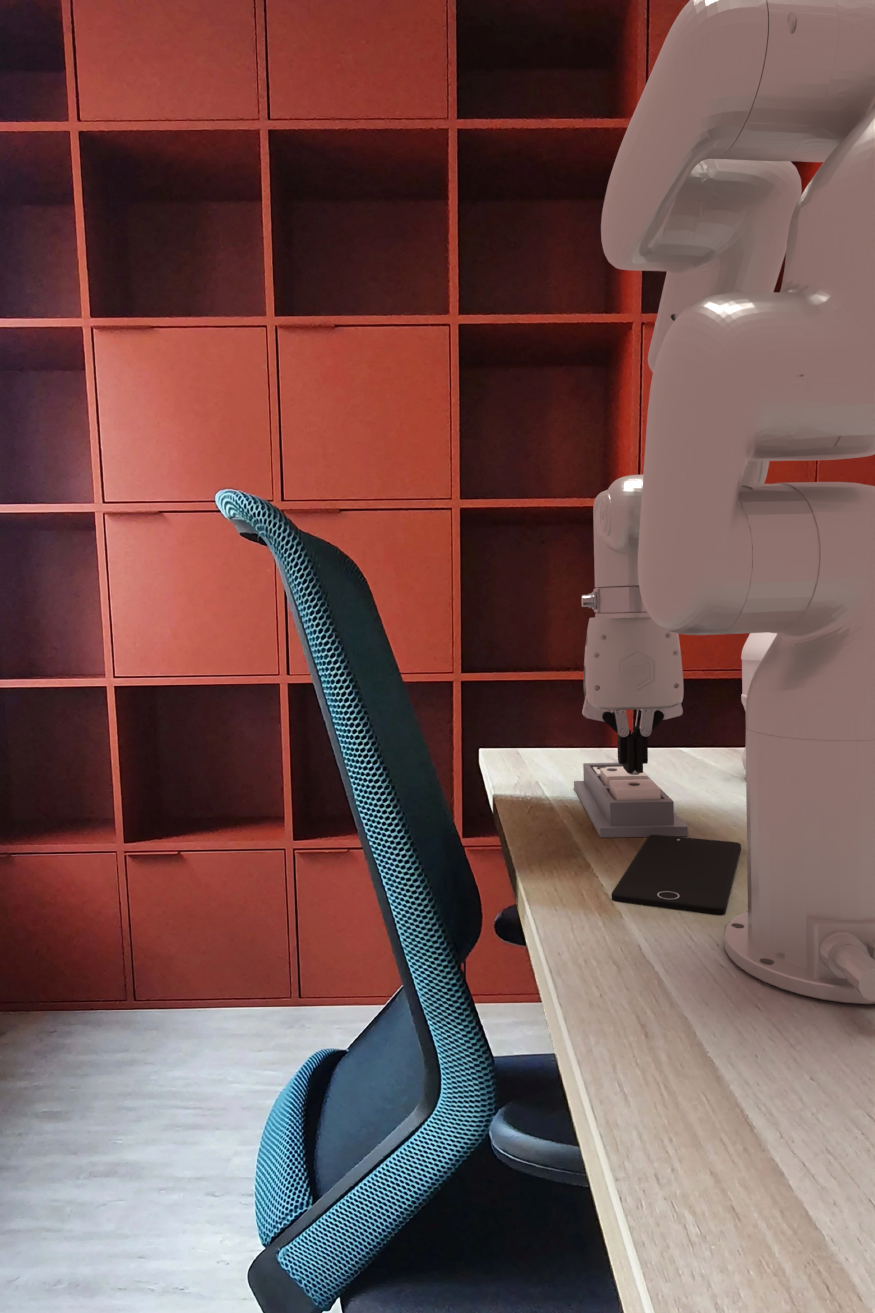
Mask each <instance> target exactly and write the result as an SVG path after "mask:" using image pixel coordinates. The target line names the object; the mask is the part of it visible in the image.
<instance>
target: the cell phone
mask: <svg viewBox="0 0 875 1313" xmlns="http://www.w3.org/2000/svg"><path fill="white" fill-rule="evenodd" d="M741 852H742V844H741V842H735V841H730V840H729V841H727V840H717V839H708V838H695V837H687V836H664V835H650V836H649V837H647V838H646V840H645V841H644V843H643V844H642V846H641V848H640V849H639V850H638V852H637V854H636V855H635V857H634V858H633V860H632V861H631V863H630V864H629V866H628V867H627V869H626V870H625V872H624V873H623V875H622V877H621V878H620V880H619V881H618V883H617V884H616V886H615V887H614V889H613V891H612V892H611V900H612V901H613V902H617V903H621V904H622V903H623V904H629V905H630V904H631V905H638V906H644V907H645V906H646V907H652V908H653V907H654V908H660V909H668V910H673V911H674V910H675V911H676V910H677V911H682V912H683V911H684V912H689V913H696V914H697V913H698V914H706V915H710V916H711V915H713V916H725V915H726V912H727V909H728V904H729V900H730V895H731V893H732V888H733V884H734V879H735V877H736V876H735V875H736V872H737V868H738V863H739V860H740V856H741Z"/></svg>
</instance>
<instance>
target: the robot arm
mask: <svg viewBox="0 0 875 1313" xmlns="http://www.w3.org/2000/svg"><path fill="white" fill-rule="evenodd" d="M638 100H639V101H638V102H637V105H636V107H635V110H634V112H633V115H632V116H631V118H630V121H629V123H628V127H627V128H626V130H625V134H624V135H623V139H622V141H621V143H620V146H619V149H618V152H617V154H616V158H615V159H614V160H615V161H614V163H613V166H612V170H611V171H610V172H611V173H610V174H609V175H610V176H609V179H608V183H607V187H606V191H605V195H604V201H603V205H602V206H603V207H602V212H601V221H600V222H601V223H600V235H601V237H600V238H601V244H602V250H603V254H604V256H605V258H606V259H607V262H608V263H609V264H611V265H612V266H613V267H614V268H615V269H618V270H625V271H643V272H644V271H645V272H649V271H650V272H666V275H665V279H664V283H663V288H662V292H661V295H660V296H661V297H660V301H659V306H658V311H657V315H656V320H655V322H654V323H655V324H654V327H653V332H652V337H651V340H650V345H649V350H648V354H647V364H648V367H649V370H650V371H651V373H652V376H651V383H650V387H649V397H648V405H647V406H648V407H647V419H646V432H645V445H644V459H643V460H644V461H643V474H631V475H630V474H629V475H625V476H622V477H621V476H620V478H617V479H615V480H614V481H613V482H612V483H611V484H610V485H609V487H608V489H606V490H604V491H601V492H600V493H599V494H597V496H596V497H595V499H594V502H593V509H592V510H593V511H592V512H593V513H592V514H593V517H592V518H593V521H592V522H593V558H594V560H593V562H594V566H593V568H594V588H593V591H591V593H588V594H582V595H581V608H587V607H588V609H592V610H593V612H594V613H595V614H594V617H589V619H588V624H587V630H586V639H585V647H584V662H583V695H584V702H583V705H582V710H581V714H582V715H583V717H584V718H585V719H590V720H593V721H599V722H605V723H606V725H608V726H609V727H610V728H611V730H613V731H614V732H615V733H617V734H616V735H617V739H616V740H617V763H619V764H623V768H624V769H625V770H626V772H627V773H633V772H637V773H643V772H644V764H646V765H647V764H648V763H649V750H648V749H649V746H648V745H649V744H648V741H649V740H648V739H649V738H648V737H649V736H651V734H652V731H654V729H655V728H656V727H658V726H659V724H660V723H661V722H662V721H663V720H664V721H665V720H669V719H672V718H677V717H680V716H682V715H683V713H684V709H683V706H682V702H683V701H684V700H683V699H684V673H683V663H682V660H683V659H682V652H681V651H682V650H681V645H680V636H679V635H687V636H707V635H708V636H710V635H711V636H713V635H714V636H715V635H735V634H736V635H738V634H739V635H740V634H741V635H742V634H750V633H767V632H769V633H777V635H776V637H775V639H774V640H773V642H772V644H771V645H770V647H769V649H768V650H767V652H766V654H765V655H764V657H763V658H762V660H761V662H760V664H759V665H758V667H757V669H756V671H755V673H754V675H753V678H752V680H751V683H750V686H749V689H748V694H747V700H746V712H745V746H746V771H745V776H746V777H745V783H746V784H745V790H746V793H745V795H746V796H745V797H746V799H745V800H746V802H745V803H746V805H745V806H746V864H747V865H746V866H747V869H746V872H747V876H746V877H747V883H746V884H747V911H744V912H741V913H739V914H738V915H736V916H735V917H732V918H731V919H730V920H729V921H728V922H727V923H726V924H725V925H724V926H725V927H724V930H723V931H724V932H723V941H724V942H723V943H724V950H725V951H726V953H727V955H728V957H729V958H730V959H731V961H733V962H734V964H735V965H737V966H738V967H739V968H741V969H742V970H743V971H744V972H746V973H747V974H749V975H750V976H753V977H755V978H756V979H759V980H760V981H762V982H764V983H767V984H769V985H771V986H774V987H776V988H779V989H782V990H784V991H787V992H791V993H794V994H798V995H801V996H805V997H810V998H814V999H819V1000H822V1001H823V1000H824V1001H830V1002H836V1003H837V1002H838V1003H844V1004H855V1005H856V1004H858V1005H875V485H870V484H864V483H860V482H859V483H858V482H849V481H848V482H847V481H844V482H843V481H816V482H815V481H813V482H811V481H810V482H803V481H802V482H775V483H765V482H766V480H767V476H768V471H769V467H770V462H784V461H785V462H786V461H792V462H793V461H831V460H833V461H834V460H845V459H846V460H847V459H848V460H849V459H855V458H865V457H871V456H874V455H875V0H689V1H688V2H687V3H686V4H685V5H684V7H682V9H681V11H679V14H678V15H677V16H676V18H675V20H674V22H673V24H672V25H671V27H670V29H669V31H668V33H667V35H666V37H665V39H664V42H663V44H662V47H661V49H660V51H659V53H658V55H657V58H656V60H655V63H654V65H653V68H652V70H651V72H650V75H649V77H648V79H647V81H646V84H645V86H644V89H643V90H642V93H641V96H640V98H639V99H638ZM793 162H803V163H805V162H806V163H822V164H821V165H820V167H819V168H818V170H817V171H816V172H815V173H814V175H813V176H812V178H811V179H810V181H809V182H808V183H807V185H806V187H805V188H804V190H803V188H802V178H801V176H800V174H799V171H798V169H797V167H796V165H795V164H793ZM802 191H803V192H802ZM784 259H785V260H784ZM783 263H785V264H784V268H783V269H784V270H783V271H784V272H783V274H782V275H783V276H782V281H781V287H780V290H779V292H774V291H775V288H776V285H777V282H778V278H779V275H780V273H781V269H782V267H783V266H782V265H783ZM629 710H630V711H631V710H633V711H634V710H636V719H635V725H634V727H633V730H631V729H630V727H629V721H628V716H627V711H629Z"/></svg>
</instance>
